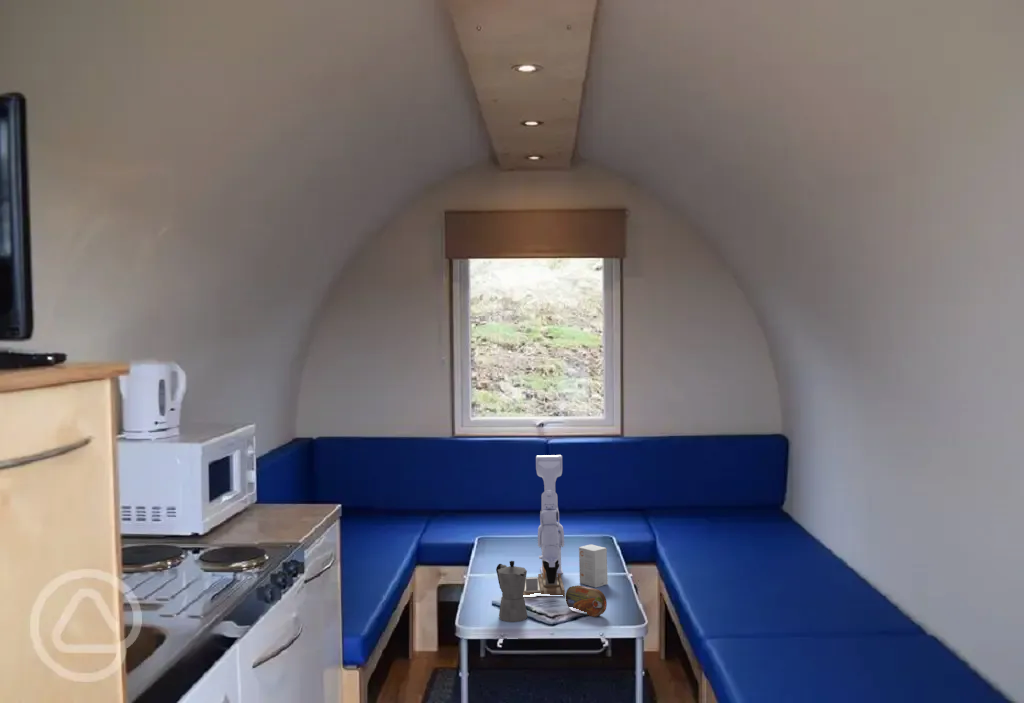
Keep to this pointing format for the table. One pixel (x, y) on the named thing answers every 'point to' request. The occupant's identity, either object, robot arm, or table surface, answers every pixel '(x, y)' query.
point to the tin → (586, 600)
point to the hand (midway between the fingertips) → (551, 582)
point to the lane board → (549, 590)
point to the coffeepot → (512, 592)
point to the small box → (593, 565)
